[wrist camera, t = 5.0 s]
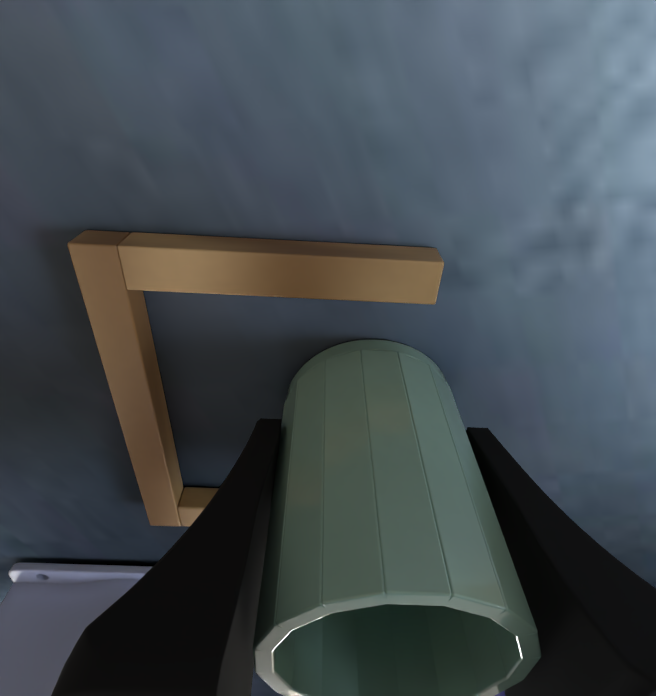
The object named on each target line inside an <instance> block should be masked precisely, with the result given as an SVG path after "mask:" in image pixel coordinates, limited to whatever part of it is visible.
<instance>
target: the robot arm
mask: <svg viewBox="0 0 656 696" xmlns="http://www.w3.org/2000/svg"><path fill="white" fill-rule="evenodd" d="M466 433H467V436H468V439H469V441H470V444H471V447H472V450H473V453H474V455H475V458H476V461H477V464H478V466H479V469H480V472H481V475H482V477H483V480H484V483H485V486H486V489H487V491H488V494H489V497H490V500H491V502H492V505H493V508H494V511H495V514H496V516H497V519H498V522H499V525H500V527H501V530H502V533H503V536H504V539H505V541H506V544H507V547H508V550H509V552H510V555H511V558H512V561H513V564H514V566H515V569H516V572H517V575H518V577H519V580H520V583H521V586H522V589H523V591H524V594H525V597H526V600H527V602H528V605H529V608H530V611H531V613H532V616H533V619H534V622H535V625H536V627H537V630H538V635H539V641H540V647H541V653H542V656H541V659H540V660H539V661H538V662H537V664H536V665H535V666H534V668H533V669H532V670H531V671H530V673H529V674H528V675H527V677H526V678H525V679H524V680H523V681H521V682H519V683H517V684H515V685H513V686H512V687H510V688H508V689H506V690H504V691H505V696H656V589H655V588H654V587H653V586H651V585H650V584H649V583H647V582H646V581H644V580H643V579H642V578H640V577H639V576H638V575H637V574H635V573H634V572H633V571H631V570H630V569H629V568H628V567H626V566H625V565H624V564H622V563H621V562H620V561H619V560H617V559H616V558H615V557H614V556H612V555H611V554H610V553H609V552H608V551H606V550H605V549H604V548H603V547H601V546H600V545H599V544H598V543H597V542H596V541H595V540H593V539H592V538H591V537H590V536H589V535H588V534H587V533H586V532H584V531H583V530H582V529H581V528H580V527H579V526H578V525H577V524H576V523H574V522H573V521H572V520H571V519H570V518H569V517H568V516H567V515H566V514H565V513H564V512H563V511H562V510H561V509H560V508H559V507H558V506H557V505H556V504H555V503H554V502H553V501H552V500H551V499H550V498H549V497H548V496H547V495H546V494H545V493H544V492H543V491H542V490H541V489H540V487H539V486H538V485H537V484H536V483H535V482H534V481H533V480H532V479H531V478H530V477H529V475H528V474H527V473H526V472H525V471H524V470H523V469H522V468H521V466H520V465H519V464H518V463H517V462H516V461H515V460H514V458H513V457H512V456H511V455H510V454H509V453H508V451H507V450H506V449H505V448H504V447H503V446H502V444H501V443H500V442H499V441H498V440H497V438H496V437H495V436H494V435H493V434H492V433H491V432H490V430H489V429H488V428H471V427H467V430H466ZM280 436H281V419H260V420H258V421H257V423H256V425H255V428H254V430H253V432H252V434H251V436H250V438H249V440H248V442H247V444H246V446H245V448H244V450H243V452H242V453H241V455H240V457H239V458H238V460H237V462H236V463H235V465H234V467H233V468H232V470H231V471H230V473H229V475H228V476H227V478H226V479H225V481H224V482H223V484H222V485H221V486H220V488H219V489H218V491H217V492H216V494H215V495H214V496H213V498H212V499H211V501H210V502H209V503H208V505H207V506H206V507H205V509H204V510H203V511H202V512H201V514H200V515H199V516H198V517H197V519H196V520H195V521H194V522H193V524H192V525H191V526H190V527H189V528H188V530H187V531H186V532H185V533H184V534H183V535H182V536H181V537H180V539H179V540H178V541H177V542H176V543H175V544H174V545H173V546H172V548H171V549H170V550H169V551H168V552H167V553H166V554H165V555H164V556H163V557H162V558H161V559H160V560H159V561H158V562H157V563H156V564H155V565H154V566H123V565H90V564H58V563H26V562H20V563H16V564H14V565H13V566H12V568H11V569H10V571H9V576H10V577H11V579H12V580H13V582H14V583H13V585H12V586H11V588H10V590H9V591H8V593H7V595H6V596H5V598H4V600H3V601H2V603H1V605H0V696H251V687H252V677H253V667H254V657H253V641H254V633H255V626H256V618H257V610H258V603H259V595H260V587H261V579H262V572H263V564H264V556H265V548H266V541H267V533H268V525H269V517H270V510H271V502H272V494H273V487H274V479H275V471H276V464H277V458H278V452H279V444H280Z"/></svg>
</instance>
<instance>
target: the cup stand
mask: <svg viewBox="0 0 656 696" xmlns="http://www.w3.org/2000/svg"><path fill="white" fill-rule="evenodd" d="M68 249H69V252H70V256H71V259H72V262H73V266H74V269H75V273H76V276H77V279H78V283H79V286H80V289H81V293H82V296H83V300H84V303H85V306H86V310H87V313H88V317H89V320H90V323H91V327H92V330H93V333H94V337H95V340H96V344H97V347H98V350H99V354H100V357H101V361H102V364H103V367H104V371H105V374H106V377H107V381H108V384H109V388H110V391H111V394H112V398H113V401H114V405H115V408H116V411H117V415H118V418H119V421H120V425H121V428H122V432H123V435H124V438H125V442H126V445H127V449H128V452H129V455H130V459H131V462H132V465H133V469H134V472H135V476H136V479H137V482H138V486H139V489H140V493H141V496H142V499H143V503H144V506H145V509H146V513H147V516H148V520H149V523H150V525H152V526H181V525H182V526H191V525H192V524H193V522H194V521H195V520H196V519H197V517H198V516H199V515H200V514H201V512H202V511H203V510H204V509H205V507H206V506H207V505H208V503H209V502H210V501H211V499H212V498H213V496H214V495H215V494H216V492H217V491H218V489H219V488H200V487H185V488H184V487H183V482H182V478H181V473H180V468H179V463H178V458H177V453H176V449H175V444H174V439H173V434H172V429H171V424H170V420H169V415H168V410H167V405H166V400H165V395H164V391H163V386H162V381H161V376H160V371H159V366H158V362H157V357H156V352H155V347H154V342H153V337H152V332H151V328H150V323H149V318H148V313H147V308H146V303H145V299H144V294H143V290H144V291H165V292H185V293H206V294H227V295H248V296H268V297H289V298H310V299H331V300H351V301H372V302H393V303H414V304H435V303H436V299H437V295H438V290H439V285H440V281H441V276H442V272H443V267H444V261H443V259H442V258H441V256H440V254H439V252H438V250H437V249H436V248H427V247H408V246H388V245H369V244H350V243H331V242H311V241H292V240H273V239H253V238H234V237H215V236H195V235H176V234H157V233H137V232H132V233H130V232H114V231H95V230H85V231H84V232H82V233H81V234H79V235H78V236H77V237H75V238H74V239H72V240H71V241H70V242H68Z"/></svg>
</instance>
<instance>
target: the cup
mask: <svg viewBox="0 0 656 696" xmlns="http://www.w3.org/2000/svg"><path fill="white" fill-rule="evenodd" d="M541 656H542V653H541V647H540V641H539V635H538V630H537V627H536V625H535V622H534V619H533V616H532V613H531V611H530V608H529V605H528V602H527V600H526V597H525V594H524V591H523V589H522V586H521V583H520V580H519V577H518V575H517V572H516V569H515V566H514V564H513V561H512V558H511V555H510V552H509V550H508V547H507V544H506V541H505V539H504V536H503V533H502V530H501V527H500V525H499V522H498V519H497V516H496V514H495V511H494V508H493V505H492V502H491V500H490V497H489V494H488V491H487V489H486V486H485V483H484V480H483V477H482V475H481V472H480V469H479V466H478V464H477V461H476V458H475V455H474V453H473V450H472V447H471V444H470V441H469V439H468V436H467V433H466V430H465V428H464V425H463V422H462V419H461V416H460V414H459V411H458V408H457V405H456V403H455V400H454V397H453V394H452V391H451V389H450V387H449V385H448V384H447V381H446V378H445V377H444V375H443V373H442V371H441V370H440V369H439V368H438V366H437V365H436V364H435V363H434V362H433V361H432V360H431V359H430V358H429V357H427V356H426V355H424V354H423V353H421V352H420V351H418V350H416V349H414V348H412V347H409V346H407V345H404V344H401V343H397V342H393V341H388V340H378V339H365V340H356V341H350V342H346V343H342V344H339V345H336V346H333V347H330V348H328V349H326V350H324V351H322V352H320V353H319V354H317V355H316V356H314V357H313V358H311V359H310V360H309V361H308V362H307V363H305V364H304V365H303V366H302V368H301V369H300V370H299V371H298V372H297V373H296V375H295V376H294V378H293V379H292V381H291V384H290V386H289V388H288V392H287V396H286V401H285V404H284V409H283V417H282V425H281V436H280V444H279V452H278V458H277V464H276V471H275V479H274V487H273V494H272V502H271V510H270V517H269V525H268V533H267V541H266V548H265V556H264V564H263V572H262V579H261V587H260V595H259V603H258V610H257V618H256V626H255V633H254V641H253V657H254V667H255V672H256V674H257V675H258V676H259V677H261V678H262V679H263V680H264V681H265V682H266V683H267V684H268V685H269V686H270V687H271V688H272V689H274V690H275V691H276V692H278V693H280V694H282V695H284V696H495V695H497V694H499V693H500V692H502V691H504V690H506V689H508V688H510V687H512V686H513V685H515V684H517V683H519V682H521V681H523V680H524V679H525V678H526V677H527V675H528V674H529V673H530V671H531V670H532V669H533V668H534V666H535V665H536V664H537V662H538V661H539V660H540V659H541Z"/></svg>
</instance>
